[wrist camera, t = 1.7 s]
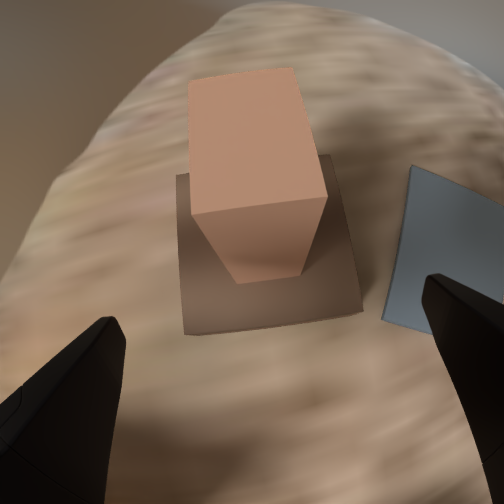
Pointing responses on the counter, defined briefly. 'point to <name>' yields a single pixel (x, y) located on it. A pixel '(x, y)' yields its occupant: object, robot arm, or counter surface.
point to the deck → (270, 291)
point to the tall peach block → (254, 172)
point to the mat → (444, 245)
